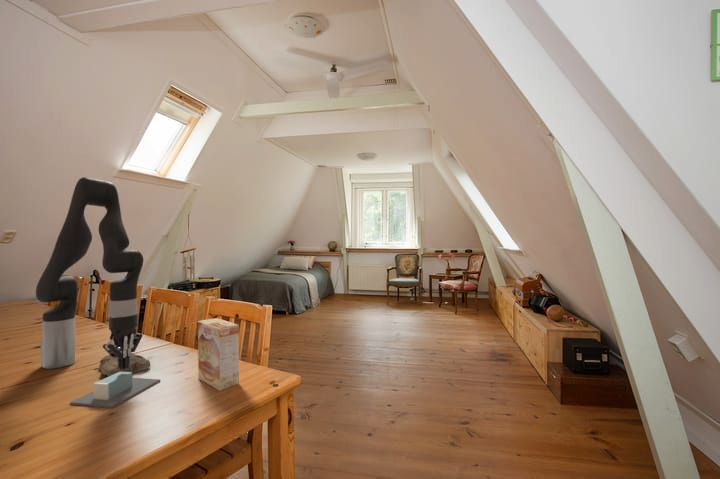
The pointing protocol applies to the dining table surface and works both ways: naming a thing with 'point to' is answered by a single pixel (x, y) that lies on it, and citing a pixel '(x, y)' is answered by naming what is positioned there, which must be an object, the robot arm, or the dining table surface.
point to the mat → (136, 388)
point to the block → (112, 385)
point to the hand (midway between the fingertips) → (123, 368)
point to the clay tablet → (111, 367)
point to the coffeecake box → (218, 353)
